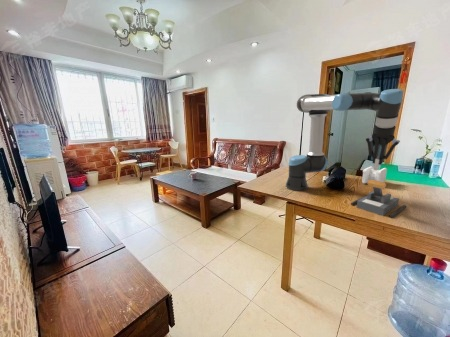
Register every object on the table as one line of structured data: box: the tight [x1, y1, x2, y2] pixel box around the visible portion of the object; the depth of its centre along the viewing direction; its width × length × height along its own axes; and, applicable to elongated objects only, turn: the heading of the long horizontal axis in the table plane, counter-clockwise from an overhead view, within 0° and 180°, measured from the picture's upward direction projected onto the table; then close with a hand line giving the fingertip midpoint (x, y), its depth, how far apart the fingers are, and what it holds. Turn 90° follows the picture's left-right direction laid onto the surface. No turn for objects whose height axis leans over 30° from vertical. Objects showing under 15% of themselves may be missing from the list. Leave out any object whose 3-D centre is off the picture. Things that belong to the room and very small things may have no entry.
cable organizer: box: [361, 166, 388, 184], centre depth 139 cm, size 15×11×12 cm
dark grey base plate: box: [350, 194, 407, 219], centre depth 105 cm, size 18×19×1 cm
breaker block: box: [356, 189, 400, 216], centre depth 104 cm, size 20×12×8 cm, turn 122°
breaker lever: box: [366, 180, 387, 199], centre depth 101 cm, size 2×7×13 cm
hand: (376, 169), depth 98 cm, fingers closed
